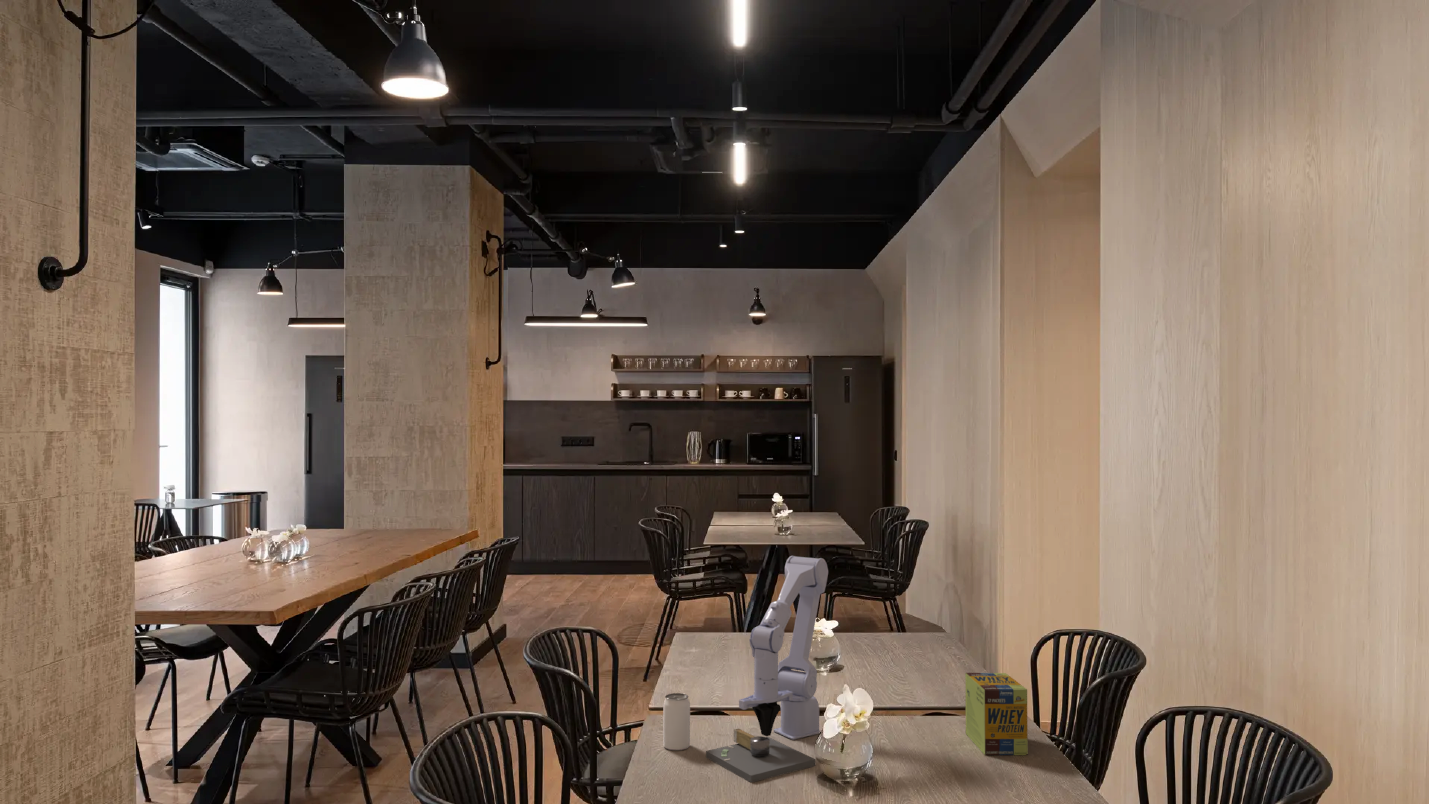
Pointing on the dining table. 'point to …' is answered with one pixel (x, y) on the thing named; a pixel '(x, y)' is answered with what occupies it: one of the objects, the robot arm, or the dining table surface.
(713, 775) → the dining table surface
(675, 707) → the can
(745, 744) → the brown bar with cylinder
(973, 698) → the protein box
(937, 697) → the dining table surface
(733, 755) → the dial board
